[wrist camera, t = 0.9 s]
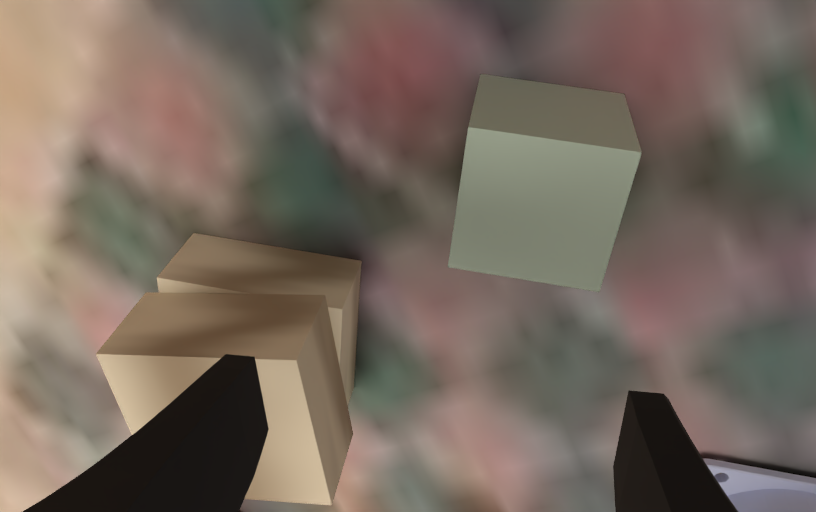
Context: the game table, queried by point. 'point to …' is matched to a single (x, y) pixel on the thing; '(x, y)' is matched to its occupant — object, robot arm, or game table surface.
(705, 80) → the game table surface
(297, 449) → the slab upper
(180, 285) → the slab lower
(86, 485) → the robot arm
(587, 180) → the cube
